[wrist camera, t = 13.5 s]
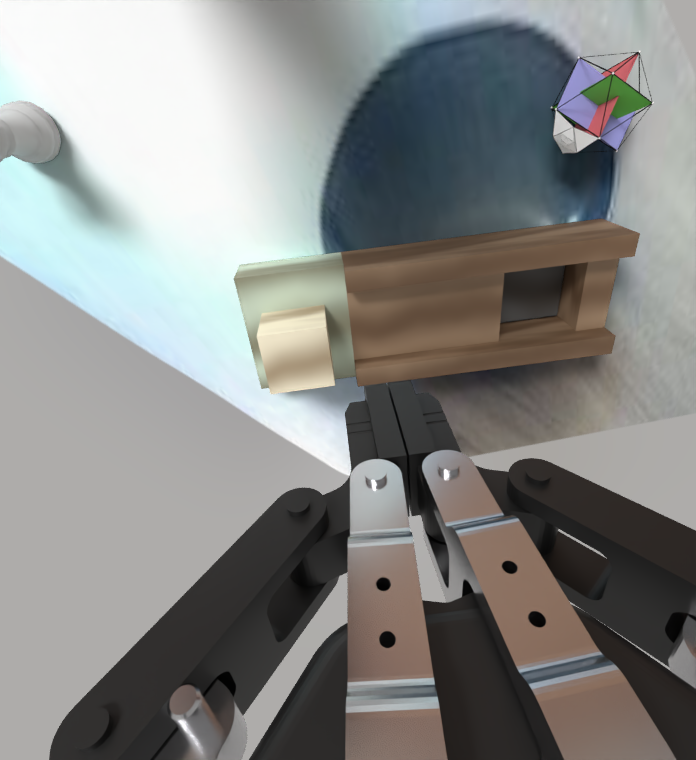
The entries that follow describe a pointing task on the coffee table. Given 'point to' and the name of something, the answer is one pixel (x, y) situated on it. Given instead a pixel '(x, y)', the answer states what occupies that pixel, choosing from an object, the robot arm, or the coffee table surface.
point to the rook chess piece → (27, 133)
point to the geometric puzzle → (597, 106)
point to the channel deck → (450, 300)
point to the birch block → (296, 349)
